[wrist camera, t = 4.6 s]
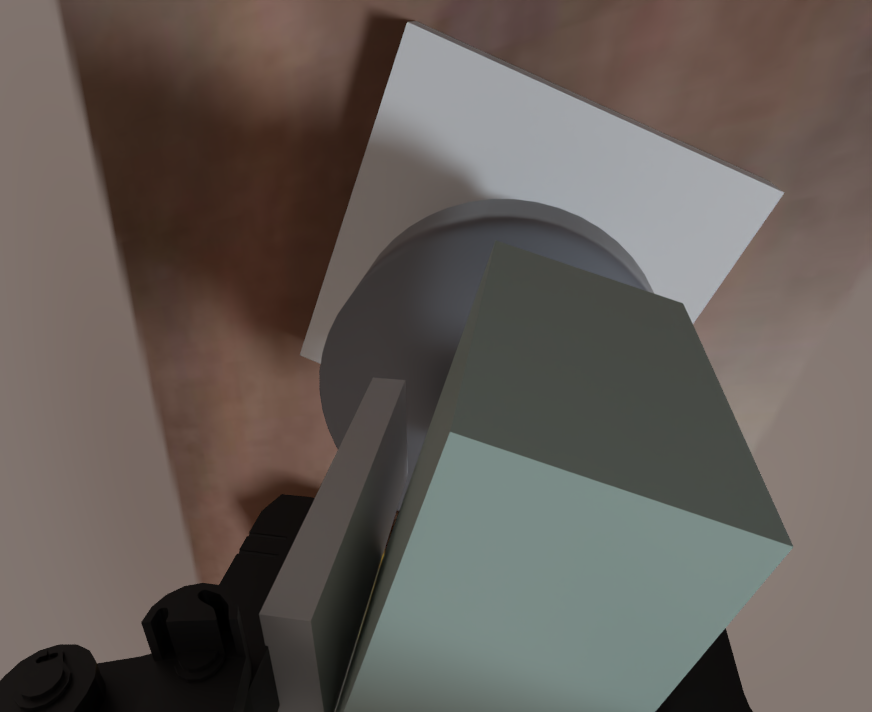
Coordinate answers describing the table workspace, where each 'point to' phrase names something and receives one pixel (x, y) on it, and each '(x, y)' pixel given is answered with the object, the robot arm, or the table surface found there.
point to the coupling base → (536, 173)
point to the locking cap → (543, 472)
